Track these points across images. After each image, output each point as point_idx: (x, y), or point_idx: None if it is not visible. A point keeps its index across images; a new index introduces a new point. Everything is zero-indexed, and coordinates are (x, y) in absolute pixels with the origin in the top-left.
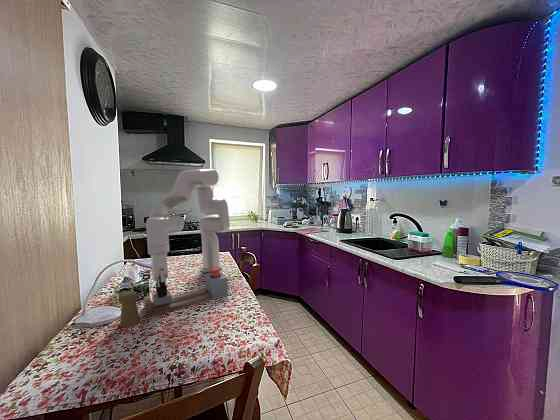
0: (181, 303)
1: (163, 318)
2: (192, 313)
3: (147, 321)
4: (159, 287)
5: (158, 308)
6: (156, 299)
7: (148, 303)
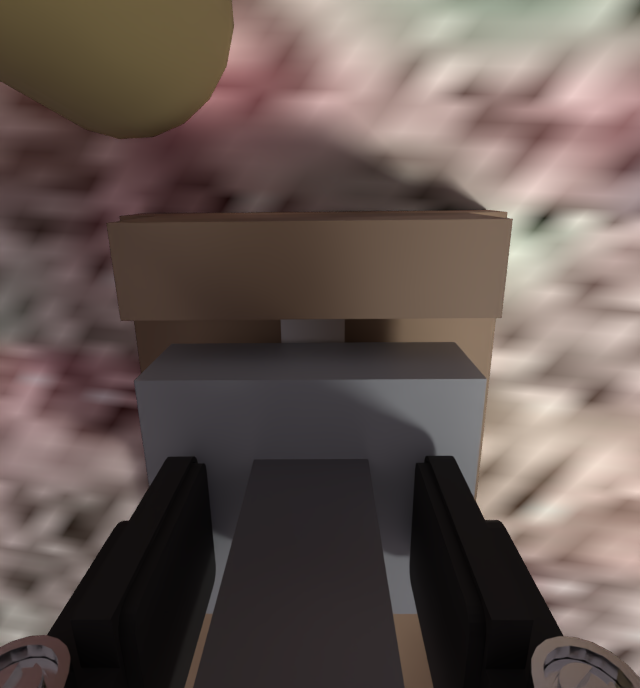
0: None
1: (31, 377)
2: (10, 605)
3: (39, 217)
4: (35, 659)
5: None
6: (139, 412)
7: (140, 275)
